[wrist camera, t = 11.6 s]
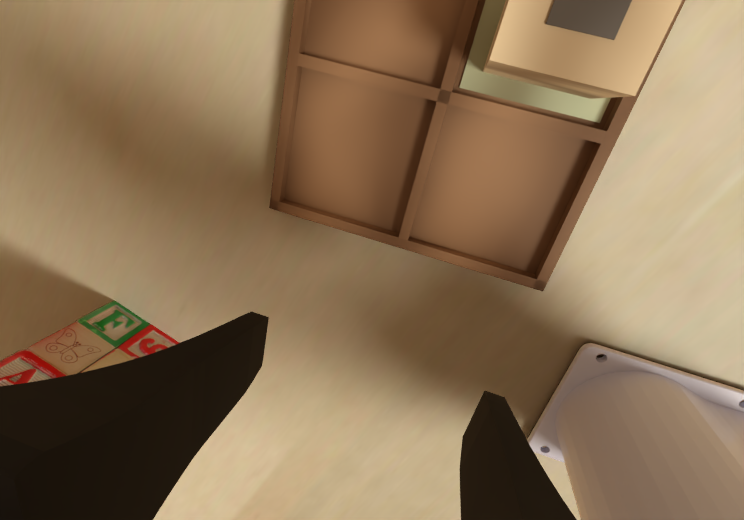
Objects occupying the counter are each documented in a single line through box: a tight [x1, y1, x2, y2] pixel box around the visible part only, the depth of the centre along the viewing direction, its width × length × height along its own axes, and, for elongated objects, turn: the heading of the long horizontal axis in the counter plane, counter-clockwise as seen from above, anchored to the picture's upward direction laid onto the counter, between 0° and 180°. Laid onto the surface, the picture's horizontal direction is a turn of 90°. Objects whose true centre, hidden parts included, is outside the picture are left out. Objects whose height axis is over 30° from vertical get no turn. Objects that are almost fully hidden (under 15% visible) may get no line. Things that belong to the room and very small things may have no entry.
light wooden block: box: [483, 0, 682, 99], centre depth 13 cm, size 4×4×5 cm
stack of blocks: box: [0, 301, 179, 386], centre depth 26 cm, size 21×6×12 cm, turn 148°
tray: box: [270, 0, 685, 291], centre depth 17 cm, size 14×14×1 cm
